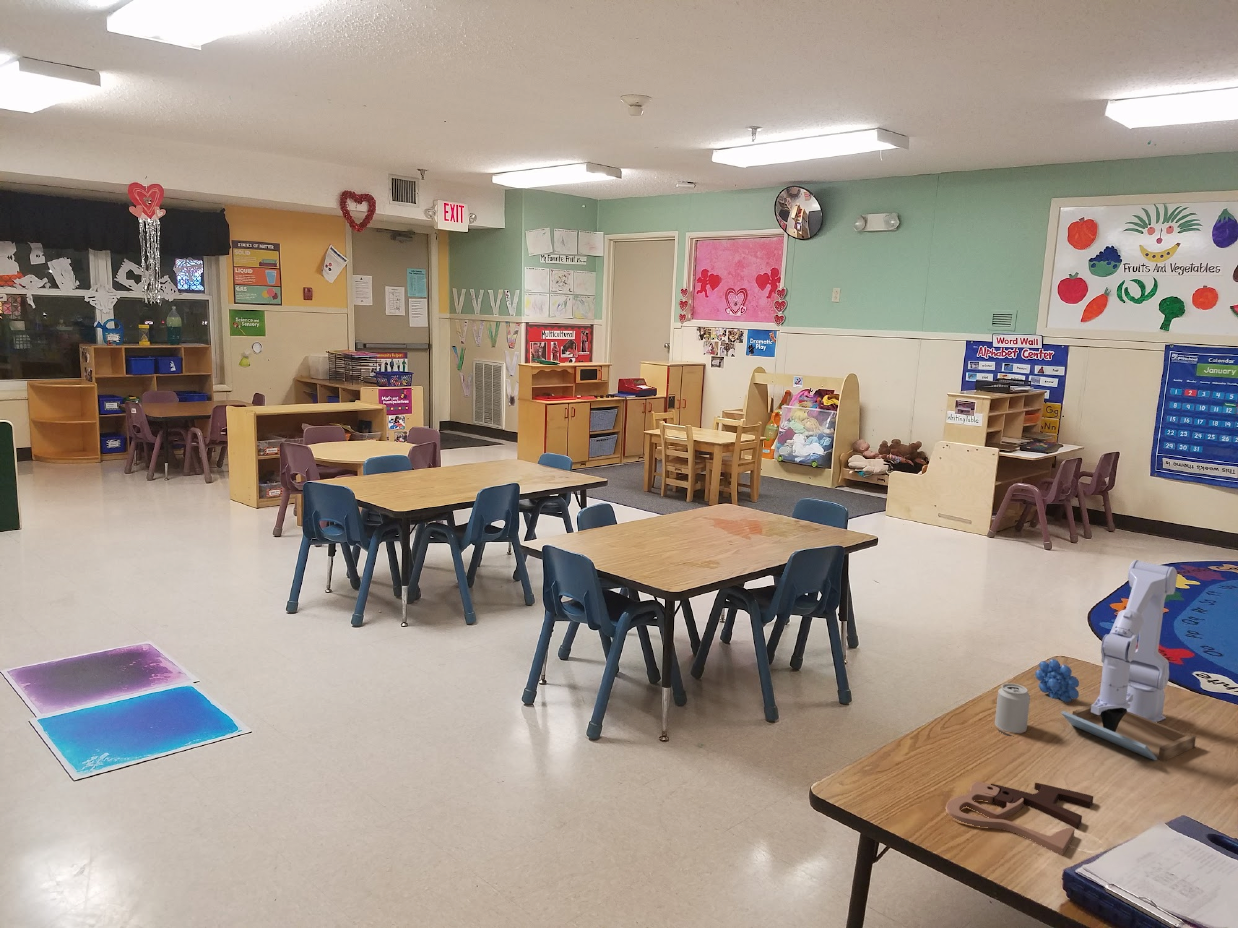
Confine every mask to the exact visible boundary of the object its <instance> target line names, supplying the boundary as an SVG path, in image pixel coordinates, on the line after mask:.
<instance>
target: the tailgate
mask: <svg viewBox="0 0 1238 928" xmlns="http://www.w3.org/2000/svg"><path fill="white" fill-rule="evenodd" d="M1060 714H1061V715H1062V716H1063V717H1064V718H1065V720H1067V722H1068V723H1069V724H1070V725H1071V726H1073V727H1075V728H1078V729H1080V730H1082V731H1084V732H1087V733H1089V734H1091V735H1094V736H1096V737H1099V738H1100V739H1103V740H1106V741H1108V742H1110V743H1112V744H1115V745H1117V746H1119V747H1122V748H1124V749H1127V750H1129V751H1131V752H1133V753H1136V754H1138V755H1141V756H1142V757H1144V758H1147V759H1150V760H1152V761H1155V762H1156V761H1158V760H1159V759H1157V758H1156V757H1155V755H1154V754H1153V753H1152V752H1151V750H1150V749H1149V748H1148V747H1147V746H1146V745H1144V744H1142V743H1139V742H1137V741H1135V740H1132V739H1130V738H1127V737H1125V736H1123V735H1120V734H1118V733H1115V732H1113V731H1111V730H1108V729H1106V728H1103V727H1101V726H1099V725H1096V724H1094V723H1091V722H1089V721H1087V720H1084V719H1082V718H1079V717H1077V716H1075V715H1072V713H1071V712H1070V713H1069V712H1067V711H1065V710H1062V711H1061V713H1060Z"/></svg>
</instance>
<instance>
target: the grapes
mask: <svg viewBox="0 0 1238 928" xmlns="http://www.w3.org/2000/svg"><path fill="white" fill-rule="evenodd" d="M1038 664H1039V665H1038V668H1039V669H1037V670H1036V671H1035V673H1034V675H1035V678H1036V680H1038V681H1039V683H1038V689H1039V690H1040V692H1042V693H1043V694H1048V697H1050V699H1051V698H1052V699H1060V700H1061V702H1064V703H1065V702H1068V703H1069V702H1072V699H1075V700H1076V699H1078V698H1079V696H1080V694H1079V691H1078V689H1077V688H1078V687H1079V686H1080V681H1079V679H1078V678H1077V677H1076V676H1074V675H1072V673H1073V672H1072V669H1071V667H1070V666H1069V665H1067V664H1062V665H1061V664H1060V661H1059V660H1057V659H1055V658H1052V659H1050V660H1049V661H1045V660H1043V661H1040V662H1039V663H1038Z"/></svg>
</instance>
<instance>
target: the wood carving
mask: <svg viewBox="0 0 1238 928" xmlns="http://www.w3.org/2000/svg"><path fill="white" fill-rule="evenodd" d="M1034 790H1036V791H1037V790H1038V791H1037V792H1036V793H1030V792H1027V791H1023V790H1020V789H1016V788H1013V787H1011V788H1010V787H1007V786H1003V785H1000V784H996V783H995V784H994V783H986V782H982V781H974V782H973V783H972V784H971V785H970V790H969V792H968V793H965V794H962V795H961V794H960V795H957V796H955V797H953V798H951V799H949V800H948V801H947V802H946V805H945V809H946V812H947V813H948V814H949V815H950V816H952V817H953V818H955V819H957V820H959V821H961V822H964V823H967V824H972V825H974V826H980V827H988V828H997V829H996V830H1001V829H1005V830H1004V831H1007V832H1009V831H1010V832H1009V833H1012V832H1014V833H1016V834H1015V835H1017V834H1019V835H1021V836H1020V837H1022V836H1024V837H1026V838H1028V839H1031V840H1033V841H1034V842H1033V841H1032V842H1033V843H1035V842H1036V843H1035V844H1037V845H1038V846H1041V845H1042V846H1041V847H1043V848H1045V847H1046V848H1045V849H1047V850H1049V851H1051V850H1052V852H1053V853H1055V854H1057V853H1058V854H1057V855H1060V856H1062V857H1063V856H1064V855H1065V853H1066V851H1067V850H1068V848H1069V846H1070V845H1071V842H1072V841H1073V839H1074V838H1075V832H1076V831H1075V830H1079V828H1080V826H1081V824H1082V819H1083V816H1082V815H1081V814H1079V813H1077V812H1075V811H1072V810H1070V809H1067V808H1065V807H1063V806H1060V805H1059V804H1057V803H1058V801H1061V802H1064V803H1065V802H1066V803H1068V804H1073V805H1076V806H1079V807H1083V808H1086V809H1091V808H1092V805H1093V802H1094V795H1090V794H1086V793H1082V792H1078V791H1074V790H1072V789H1071V790H1070V789H1066V788H1061V787H1056V786H1052V785H1049V784H1044V783H1040V782H1034ZM974 800H983V801H988V802H992V803H991V804H993V805H995V806H996V805H997V806H996V807H999V806H1000V807H999V808H1002V809H1000V810H998V811H996V810H993V809H991V808H989V807H986V806H985V805H981V804H980V803H978V802H977V801H975V802H974ZM993 802H994V803H993ZM1024 805H1025V806H1027V807H1029V806H1030V808H1032V809H1034V810H1037V811H1039V812H1041V813H1044V814H1046V815H1048V816H1050V817H1052V818H1054V819H1056V820H1058V821H1060V822H1062V823H1064V824H1065V825H1069V827H1066V828H1062V829H1060V830H1058V831H1056V832H1054V833H1052V834H1051V835H1047V834H1044V833H1042V832H1039V831H1036V830H1034V829H1031V828H1027V827H1025V826H1022V825H1020V824H1017V823H1015V822H1013V821H1011V820H1006V818H1009V817H1010V816H1013V815H1014V814H1016V813H1017V811H1018V812H1019V811H1021V810H1022V809H1023V808H1024ZM966 806H967V807H969V808H971V809H973V810H975V811H978V812H979V813H982V814H984V815H985V816H987V817H989V818H987V817H985V816H983V817H982V816H976V815H972V814H970V813H965V812H963V811H960V810H961V809H962V808H963V807H966ZM1004 818H1005V819H1004ZM1014 833H1013V834H1014ZM1019 835H1018V836H1019ZM1024 837H1023V838H1024ZM1026 838H1025V839H1026ZM1028 839H1027V840H1028ZM1031 840H1030V841H1031Z"/></svg>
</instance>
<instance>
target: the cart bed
mask: <svg viewBox="0 0 1238 928" xmlns="http://www.w3.org/2000/svg"><path fill="white" fill-rule="evenodd" d="M1091 705H1092V704H1089V705H1086V706H1083V707H1081V708H1077V709H1075V710H1072V713H1071V714H1072V715H1075V716H1077V717H1079V718H1082V719H1084V720H1087V721H1089V722H1091V723H1094V724H1096V725H1099V726H1101V727H1103V723H1102V719H1101V716H1100V715H1097V714H1094V713H1092V712H1091ZM1115 733H1118V734H1120V735H1123V736H1125V737H1127V738H1130V739H1132V740H1135V741H1137V742H1139V743H1142V744H1144V745H1146V746H1147V747H1148V748H1149V749H1150V750H1151V752H1152V753H1153V754H1154V755H1155V757H1156V758H1157V759H1158V760H1159V761H1161V762H1165V761H1167V760H1170V759H1172V758H1175V757H1176V756H1179V755H1181V754H1183V753H1185V752H1187V751H1190V750H1193V749H1195V747H1196V746H1195V745H1196V738H1197V736H1196V735H1194V734H1193V733H1190V734H1187V733H1184V732H1182V731H1179V730H1176V729H1174V728H1171V727H1170V726H1166V725H1164V724H1162V723H1159V722H1154V721H1151V720H1149V719H1146V718H1144V717H1141V716H1139V715H1136V714H1134V713H1131V712H1128V711H1127V713H1126V714H1125V715H1124V716H1123V717H1122V719H1121V720H1120V722H1119V724H1118V727H1117V729H1116V732H1115Z"/></svg>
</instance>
